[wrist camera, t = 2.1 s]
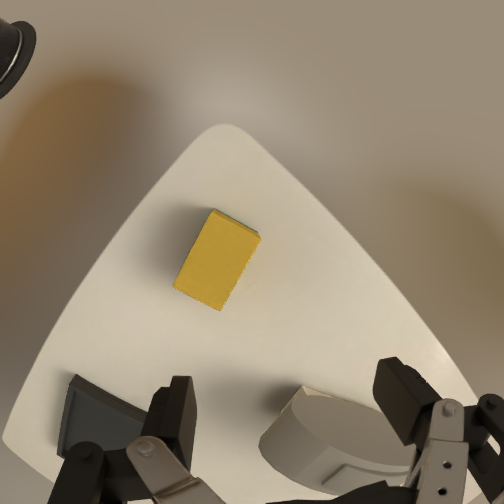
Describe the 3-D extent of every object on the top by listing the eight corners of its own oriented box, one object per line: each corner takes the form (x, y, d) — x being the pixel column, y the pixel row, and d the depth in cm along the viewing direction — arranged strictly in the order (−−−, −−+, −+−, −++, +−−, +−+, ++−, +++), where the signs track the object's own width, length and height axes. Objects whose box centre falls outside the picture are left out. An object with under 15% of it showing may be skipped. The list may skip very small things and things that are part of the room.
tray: (134, 483, 35) (131, 492, 32) (61, 446, 33) (56, 454, 30) (172, 423, 32) (170, 435, 30) (76, 373, 30) (69, 383, 27)
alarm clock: (252, 408, 32) (262, 494, 19) (281, 371, 31) (304, 458, 18) (382, 443, 35) (413, 501, 23) (408, 416, 34) (448, 471, 22)
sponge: (221, 295, 29) (220, 311, 25) (180, 273, 28) (172, 287, 24) (257, 232, 27) (261, 239, 24) (214, 208, 27) (211, 211, 23)
